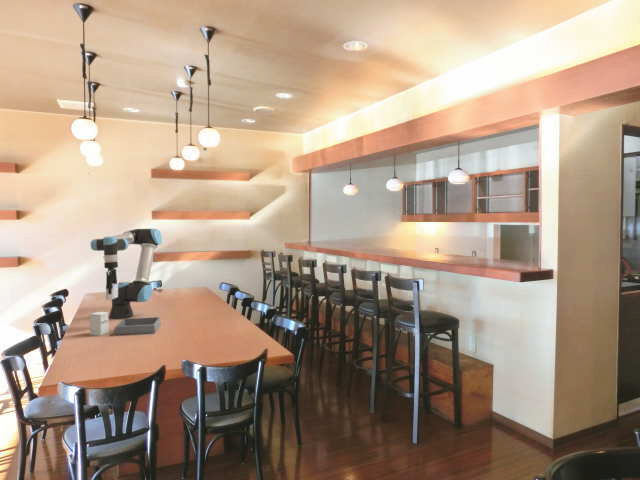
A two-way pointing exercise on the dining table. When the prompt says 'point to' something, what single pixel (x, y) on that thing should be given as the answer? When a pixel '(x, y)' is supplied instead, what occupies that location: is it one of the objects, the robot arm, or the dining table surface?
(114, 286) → the medicine box
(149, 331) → the tote
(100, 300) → the dining table surface
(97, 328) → the supplement box
